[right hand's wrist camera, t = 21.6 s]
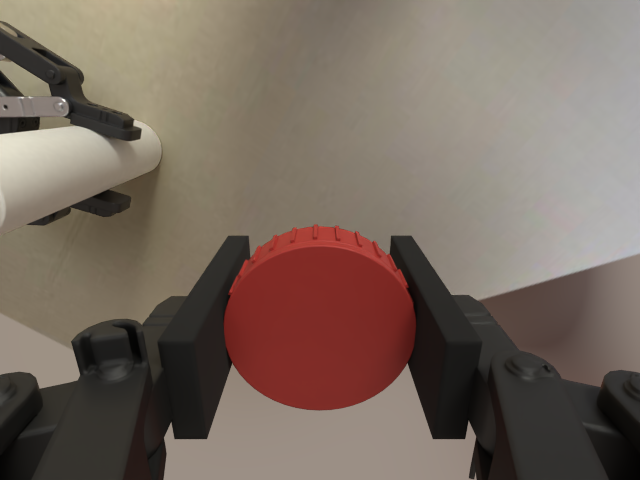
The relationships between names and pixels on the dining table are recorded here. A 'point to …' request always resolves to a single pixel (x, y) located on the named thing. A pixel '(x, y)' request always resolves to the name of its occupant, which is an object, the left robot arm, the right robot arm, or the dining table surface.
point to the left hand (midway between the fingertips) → (129, 170)
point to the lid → (319, 319)
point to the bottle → (66, 169)
